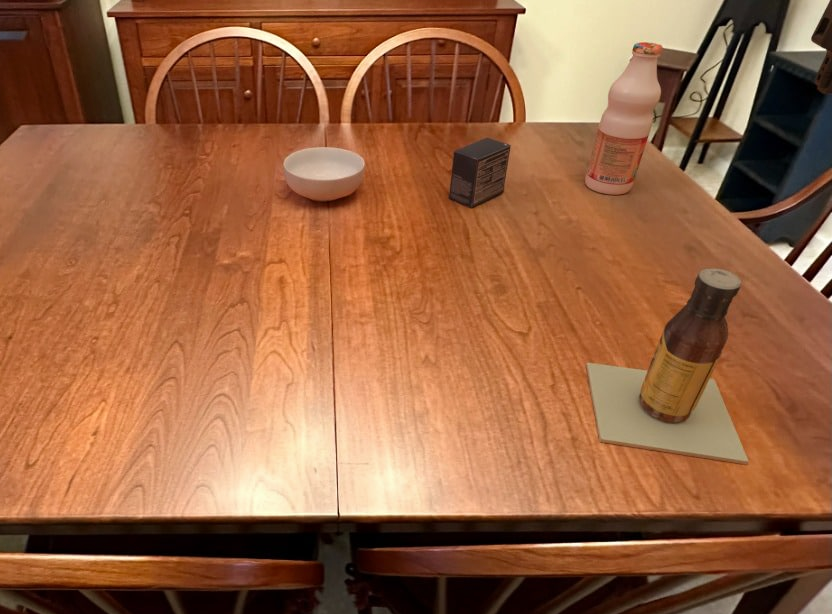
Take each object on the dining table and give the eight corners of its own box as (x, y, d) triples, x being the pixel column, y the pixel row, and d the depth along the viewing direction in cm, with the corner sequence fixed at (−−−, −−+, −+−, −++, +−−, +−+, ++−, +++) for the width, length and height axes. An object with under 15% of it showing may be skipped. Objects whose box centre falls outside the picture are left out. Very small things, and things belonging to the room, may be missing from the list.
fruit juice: (574, 179, 131) (610, 41, 114) (613, 174, 132) (654, 37, 115) (600, 198, 123) (642, 53, 106) (641, 192, 125) (688, 49, 108)
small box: (479, 183, 130) (486, 135, 123) (504, 193, 126) (513, 144, 119) (446, 198, 124) (452, 149, 118) (471, 209, 120) (479, 159, 114)
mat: (712, 382, 80) (714, 378, 80) (747, 464, 69) (749, 461, 69) (585, 365, 83) (586, 362, 83) (599, 442, 72) (600, 438, 72)
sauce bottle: (662, 384, 79) (721, 255, 67) (702, 417, 74) (772, 284, 62) (623, 398, 77) (676, 267, 65) (661, 432, 73) (725, 298, 61)
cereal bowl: (359, 214, 119) (360, 181, 115) (277, 209, 121) (275, 176, 117) (367, 178, 132) (368, 147, 128) (293, 174, 135) (292, 143, 130)
